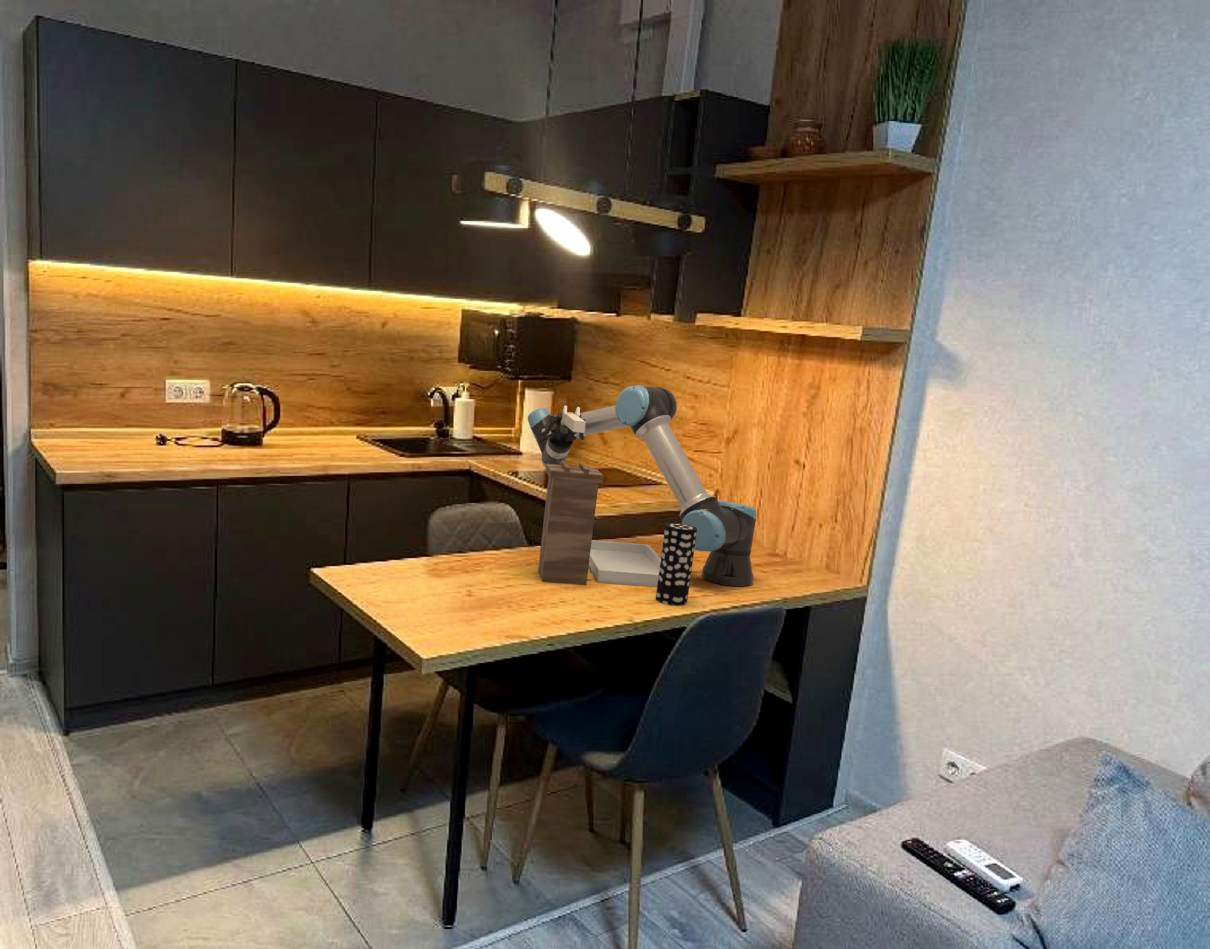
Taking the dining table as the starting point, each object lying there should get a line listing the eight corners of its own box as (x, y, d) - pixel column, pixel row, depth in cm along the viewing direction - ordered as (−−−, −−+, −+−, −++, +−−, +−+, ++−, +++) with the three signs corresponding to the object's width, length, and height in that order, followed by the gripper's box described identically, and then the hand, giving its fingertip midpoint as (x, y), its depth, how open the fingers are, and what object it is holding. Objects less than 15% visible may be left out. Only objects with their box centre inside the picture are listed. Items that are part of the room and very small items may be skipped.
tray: (675, 588, 256) (676, 576, 255) (597, 582, 252) (598, 570, 251) (647, 555, 293) (648, 544, 292) (579, 549, 289) (580, 538, 288)
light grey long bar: (584, 433, 247) (585, 421, 246) (573, 431, 246) (574, 420, 246) (571, 422, 274) (572, 412, 273) (561, 421, 273) (562, 411, 273)
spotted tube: (663, 594, 248) (672, 521, 245) (691, 601, 244) (701, 527, 242) (650, 600, 241) (660, 525, 238) (679, 607, 237) (690, 531, 234)
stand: (590, 585, 248) (604, 471, 243) (538, 581, 245) (551, 466, 241) (583, 573, 260) (596, 464, 256) (534, 569, 258) (546, 459, 254)
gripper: (584, 456, 285) (599, 425, 264) (533, 451, 283) (543, 419, 261) (585, 434, 288) (600, 401, 267) (534, 429, 285) (544, 395, 264)
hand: (572, 410), depth 264 cm, fingers closed on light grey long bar, 3 cm apart
